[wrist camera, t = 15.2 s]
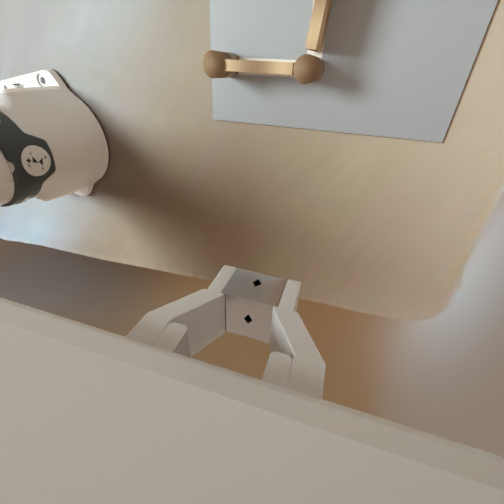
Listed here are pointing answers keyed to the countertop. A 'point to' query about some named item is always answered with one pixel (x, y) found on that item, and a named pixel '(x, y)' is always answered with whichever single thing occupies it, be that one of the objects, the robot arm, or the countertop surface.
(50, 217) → the countertop surface
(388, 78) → the card
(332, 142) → the countertop surface
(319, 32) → the rail
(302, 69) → the fixed rail
